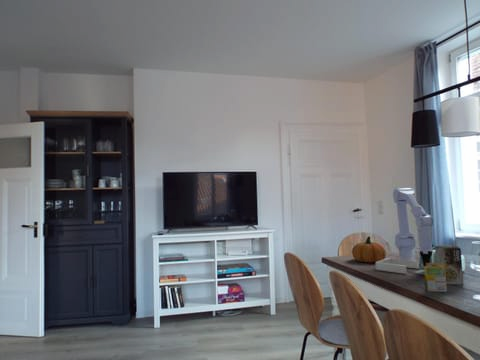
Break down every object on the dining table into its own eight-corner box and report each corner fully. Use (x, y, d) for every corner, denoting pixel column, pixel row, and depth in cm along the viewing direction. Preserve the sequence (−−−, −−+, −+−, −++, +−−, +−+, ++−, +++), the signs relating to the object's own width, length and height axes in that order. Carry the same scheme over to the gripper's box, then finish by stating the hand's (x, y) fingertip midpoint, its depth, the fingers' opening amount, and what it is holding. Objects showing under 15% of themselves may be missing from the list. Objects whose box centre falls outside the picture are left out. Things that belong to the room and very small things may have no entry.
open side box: (389, 264, 192) (389, 257, 192) (419, 268, 181) (418, 260, 181) (375, 269, 180) (375, 262, 181) (406, 273, 169) (405, 265, 169)
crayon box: (444, 290, 138) (442, 261, 139) (447, 292, 135) (445, 263, 136) (425, 289, 140) (423, 261, 141) (427, 291, 137) (426, 263, 138)
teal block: (421, 268, 173) (420, 256, 173) (432, 269, 170) (431, 257, 170) (420, 269, 169) (420, 258, 170) (432, 270, 167) (431, 258, 167)
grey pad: (421, 270, 176) (421, 269, 176) (440, 272, 169) (440, 272, 169) (414, 273, 170) (414, 272, 170) (433, 275, 163) (433, 275, 163)
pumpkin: (346, 261, 206) (345, 237, 206) (361, 257, 218) (360, 234, 219) (377, 265, 191) (375, 239, 192) (391, 260, 204) (390, 236, 205)
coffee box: (459, 281, 151) (457, 245, 152) (463, 285, 145) (461, 247, 146) (436, 280, 154) (434, 245, 155) (440, 283, 148) (437, 247, 149)
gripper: (417, 237, 179) (418, 262, 178) (415, 240, 166) (417, 268, 166) (432, 237, 175) (433, 263, 174) (431, 241, 163) (433, 269, 162)
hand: (426, 266), depth 170 cm, fingers closed on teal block, 4 cm apart
